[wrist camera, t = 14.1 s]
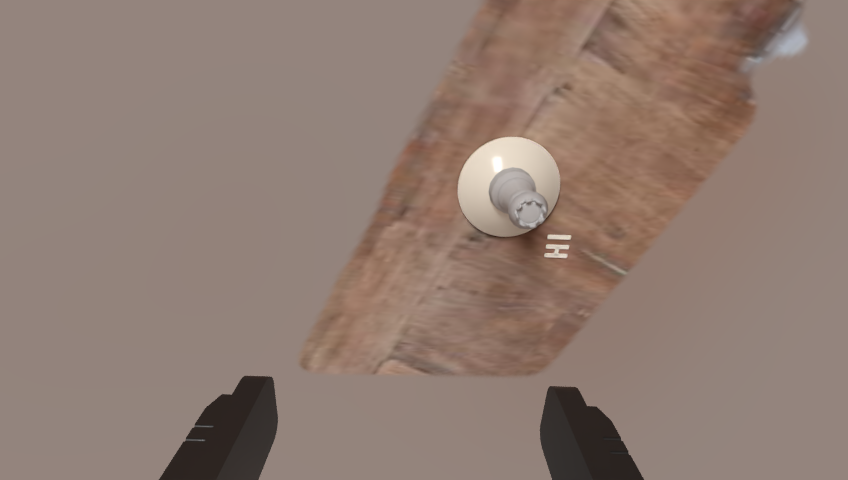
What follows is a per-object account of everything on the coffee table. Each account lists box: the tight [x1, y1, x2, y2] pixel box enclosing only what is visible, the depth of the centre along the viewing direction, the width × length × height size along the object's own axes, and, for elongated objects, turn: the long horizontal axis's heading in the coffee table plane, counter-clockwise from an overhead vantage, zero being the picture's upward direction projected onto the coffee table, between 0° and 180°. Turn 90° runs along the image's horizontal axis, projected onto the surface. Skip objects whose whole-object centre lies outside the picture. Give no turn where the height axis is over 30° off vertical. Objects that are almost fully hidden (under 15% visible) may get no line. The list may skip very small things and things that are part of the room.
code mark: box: [544, 235, 571, 258], centre depth 43 cm, size 2×2×1 cm
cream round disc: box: [457, 136, 560, 237], centre depth 40 cm, size 10×10×1 cm
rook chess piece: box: [488, 167, 548, 229], centre depth 36 cm, size 4×4×8 cm
